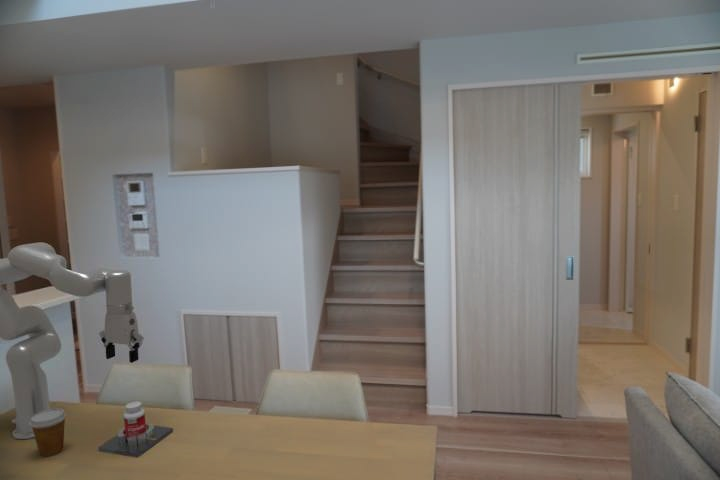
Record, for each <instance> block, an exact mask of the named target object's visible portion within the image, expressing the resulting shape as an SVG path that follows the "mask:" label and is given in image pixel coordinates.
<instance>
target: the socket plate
mask: <svg viewBox="0 0 720 480" xmlns="http://www.w3.org/2000/svg"><path fill="white" fill-rule="evenodd" d="M173 432H174V427H169V426H162V425H161V426H160V425H155V424H154V423H153V422H150V423H146V431H145V432H143V433H141V434H138V435H132V436H129V437H128V441H127V440H126V438H125V427H124V426H123V427H122V428H120V429H119V430H118V432H117V434H116V435H115V436H113V437H112V438H110V439H109V440H107V441H106V442H104V443H102V444H101V445H99V446H98V452H103V453H109V454H115V455H122V456H128V457H133V458H139V457H140V456H141V455H143V454H145V453H146V452H147V451H148V450H150V449H151V448H153V447H154V446H156V445H157V444H158V443H160V442H161V441H162V440H163V439H165V438H166V437H168V436H169V435H171V433H173Z"/></svg>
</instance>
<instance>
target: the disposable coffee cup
mask: <svg viewBox="0 0 720 480" xmlns="http://www.w3.org/2000/svg"><path fill="white" fill-rule="evenodd" d="M66 416H67V413H66V412H65V410H64V409H62V408H50V409H49V410H45V411H42V412H39V413H37V414H35V415H34V416H33V417H32V418H31V421H30V425H31V427H32V428H33V432H34V436H35V437H34V439H35V442H36V446H37V451H38V453H39V456H40V457H43V458H44V457H45V458H46V457H52V456H55V455H57V454H59V453H61V452H62V451H63V450H64V444H65V443H64V440H65V420H66Z"/></svg>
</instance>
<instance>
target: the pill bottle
mask: <svg viewBox="0 0 720 480" xmlns="http://www.w3.org/2000/svg"><path fill="white" fill-rule="evenodd" d="M142 405H143V404H142V402H141V401H132V402H129V403H127V404H126V405H125V406H124V407H125V409H124V410H125V412H124V414H123V427H125V438H126V440H127V441H128V437H129V436H132V435H138V434H141V433H143V432H145V431H146V424H147V422H146V412H145V409H143V407H142Z"/></svg>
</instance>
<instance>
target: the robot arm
mask: <svg viewBox="0 0 720 480" xmlns="http://www.w3.org/2000/svg"><path fill="white" fill-rule="evenodd" d="M67 265H68V261H67V259H66V257H65V256H62V255H60V254H57V252H56V250H55V248H54V247H53V246H52V245H50V244H48V243H46V242H43V241H41V242H33V243H26V244H20V245H17V246H15V247H13V248H12V249H10V251H9V252H8V254H7V257H4V258H0V338H1V340H4V341H14V340H17V339H19V338H21V337H22V338H23V337H25V336H27V335H28V337H29V338H26V339H22V340H21V341H18V342H16V343H15V344H13V345H12V346H10V348H8V350H7V351H6V353H5V362H6V365H7V368H8V370H9V373H10V377H11V381H12V389H13V397H14V406H15V418H13V419H12V420H11V424H15V426H16V427H15V428H14V429H13V431H12V437H13V438H15V439H18V440H28V439H29V440H30V439H33V438H34V439H35V436H34V432H33V428H32V427H31V425H30V421H31V418H32V417H33V416H34V415H35V414H37V413H39V412H42V411H45V410H49V409H51V406H50V405H51V404H50V395H49V386H48V378H47V374H46V373H45V371H44V370H43V369H42V367H41V364H42V363H44V362H46V361H49V360H52V359H53V358H55V357H56V356H58V354H60V352H61V349H62V341H61V339H60V337H59V335H58V333H57V331H56V329H55V327H54V325H53V324H52V321H51V320H50V319H49V316H48V314H47V313H46V312H45V310H43V309H42V308H41V307H39V306H36V305H26V306H23V307H19V306H18V304H17V302H16V301H15V299H14V296H13V295H11V293H10V292H8V291H7V290H5V289H3V288H2V287H1V285H5V284H9V283H10V284H11V283H14V282H18V281H22V280H25V279H26V278H29V277H31V276H33V275H34V276H36V277H38V278H42V279H46V280H48V281H49V283H50V284H51V285H52V286H53V287H54V288H55V289H56V290H58V291H60V292H62V293H65V294H68V295H71V296H75V297H81V298H84V297H89V296H92V295H95V294H98V293H102V292H105V304H106V312H105V317H104V318H105V319H104V329H103V330H102V331H99V336H100V338H101V339H100V340H101V342H102V343H103V347H104V348H105V359H107V360H110V359H111V358H114V357H116V345H115V344H118V345H124V346H126V345H127V347H128V348H129V351H128V355H129V363H130V364H132V363H134V362H137V361H138V360H139V349H140V347H141V346H142V345H143V341H144V339H145V338H144V336H142V335H141V334H140V333H139V326H138V319H137V316H136V313H135V311H134V309H135V307H134V306H133V296H132V294H133V293H132V275H131V273H130V271H129V270H124V269H117V270H115V269H109V268H96V269H92V270H88V271H84V272H77V271H74V270H71V269H67V267H68V266H67Z"/></svg>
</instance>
